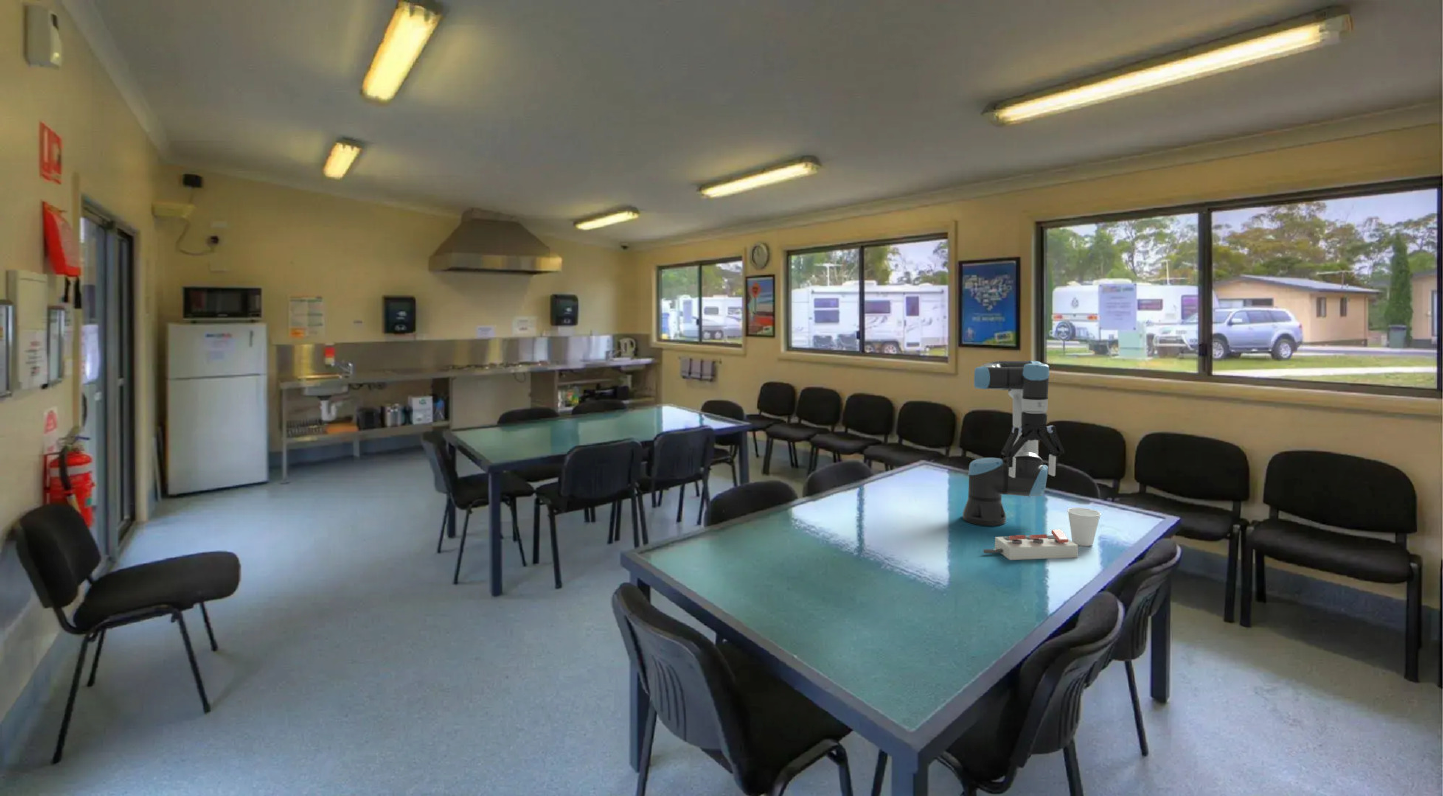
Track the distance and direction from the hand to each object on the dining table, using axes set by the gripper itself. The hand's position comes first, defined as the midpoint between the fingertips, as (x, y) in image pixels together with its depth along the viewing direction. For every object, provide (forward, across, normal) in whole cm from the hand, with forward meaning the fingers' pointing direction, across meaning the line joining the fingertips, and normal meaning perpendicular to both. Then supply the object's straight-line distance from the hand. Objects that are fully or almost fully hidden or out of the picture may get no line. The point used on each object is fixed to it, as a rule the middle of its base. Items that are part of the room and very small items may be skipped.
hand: (1031, 475), depth 211 cm
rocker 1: (+18, -8, -6) cm, 21 cm away
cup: (+25, +20, +2) cm, 32 cm away
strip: (+24, -4, -5) cm, 25 cm away
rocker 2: (+18, -1, -6) cm, 19 cm away
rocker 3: (+18, +6, -7) cm, 20 cm away
